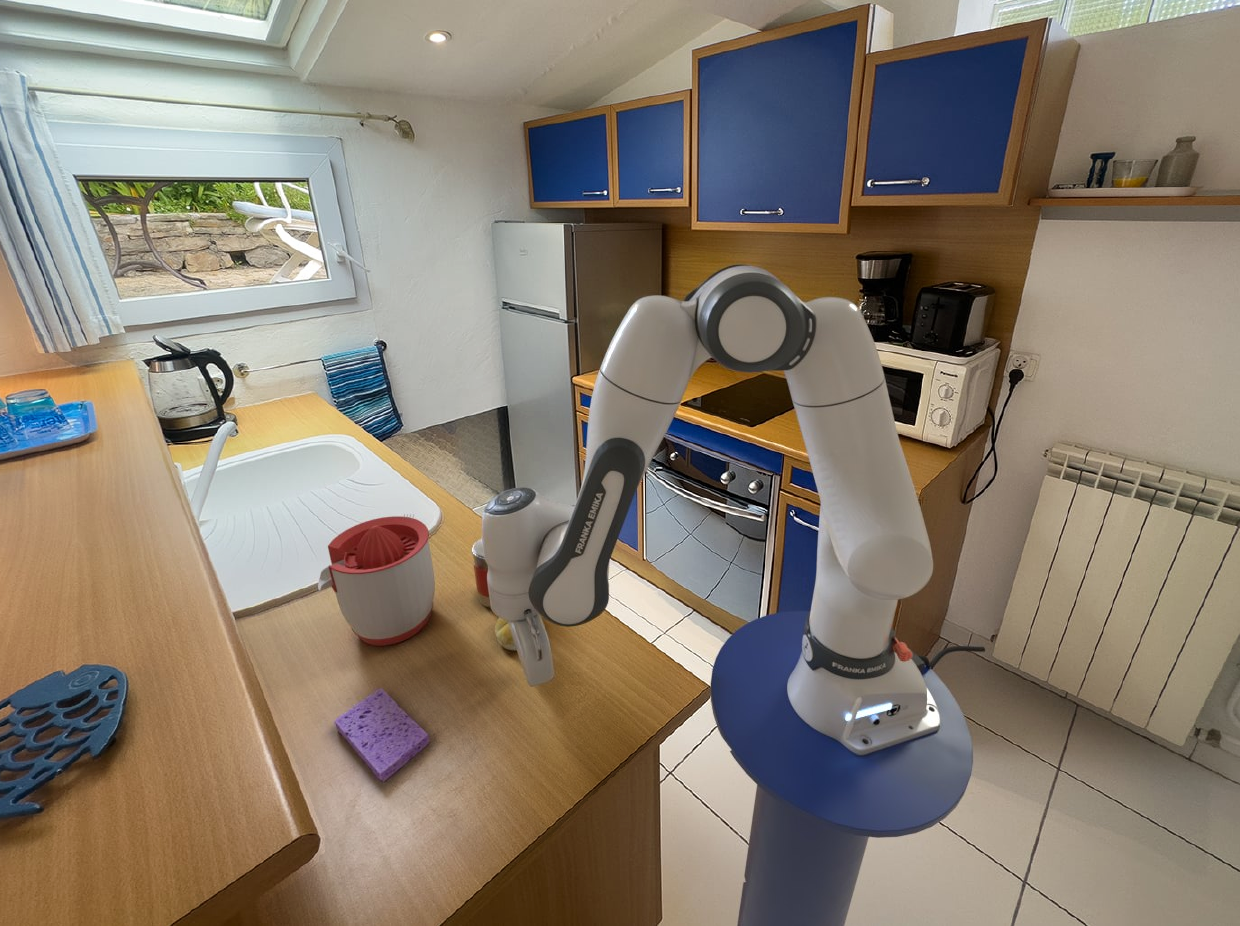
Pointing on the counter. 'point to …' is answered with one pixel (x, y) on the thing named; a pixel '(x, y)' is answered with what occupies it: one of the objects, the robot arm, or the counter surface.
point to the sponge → (382, 733)
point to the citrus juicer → (382, 578)
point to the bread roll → (505, 634)
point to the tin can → (481, 573)
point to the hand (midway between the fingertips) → (527, 660)
